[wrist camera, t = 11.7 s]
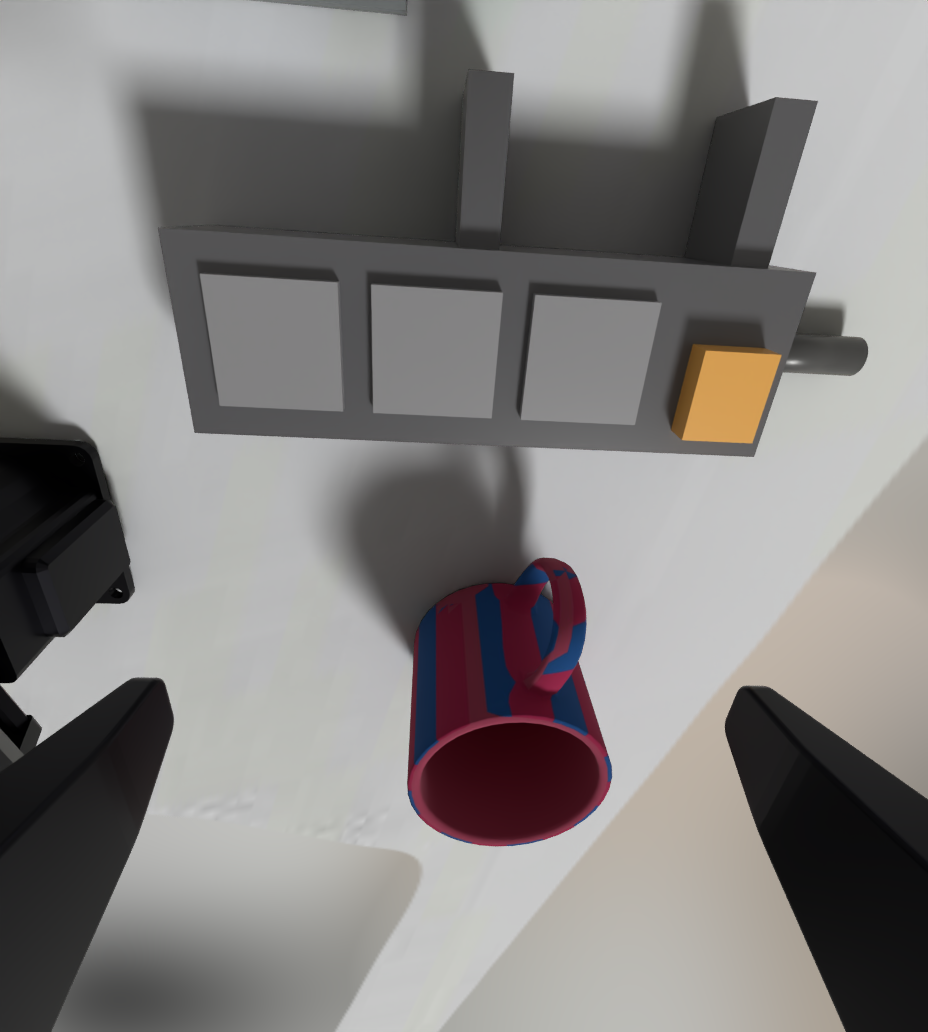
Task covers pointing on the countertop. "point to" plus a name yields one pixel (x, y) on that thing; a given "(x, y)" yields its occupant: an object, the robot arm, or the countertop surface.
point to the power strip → (510, 316)
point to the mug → (505, 713)
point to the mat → (354, 5)
